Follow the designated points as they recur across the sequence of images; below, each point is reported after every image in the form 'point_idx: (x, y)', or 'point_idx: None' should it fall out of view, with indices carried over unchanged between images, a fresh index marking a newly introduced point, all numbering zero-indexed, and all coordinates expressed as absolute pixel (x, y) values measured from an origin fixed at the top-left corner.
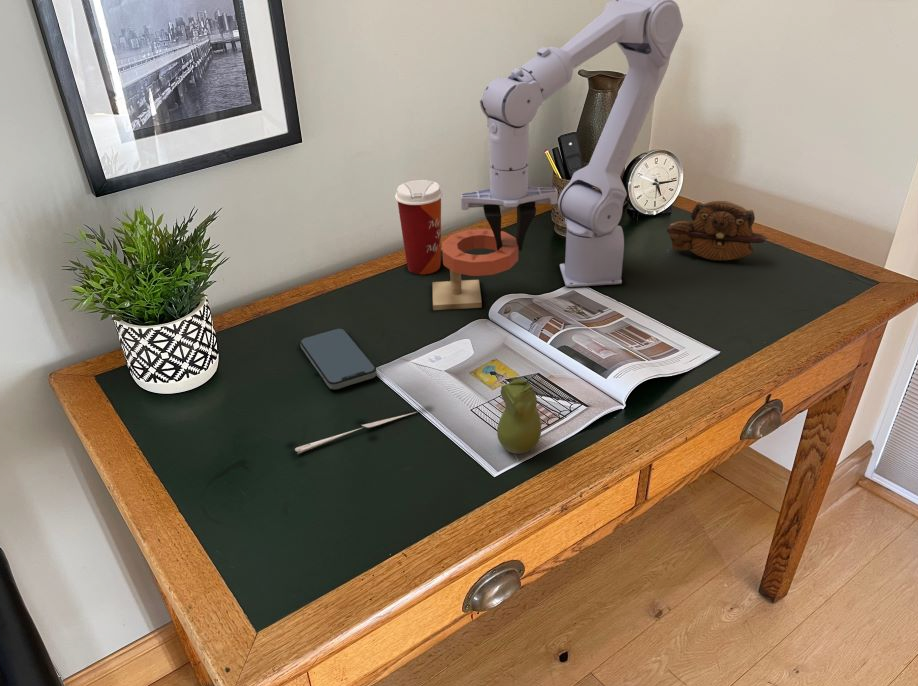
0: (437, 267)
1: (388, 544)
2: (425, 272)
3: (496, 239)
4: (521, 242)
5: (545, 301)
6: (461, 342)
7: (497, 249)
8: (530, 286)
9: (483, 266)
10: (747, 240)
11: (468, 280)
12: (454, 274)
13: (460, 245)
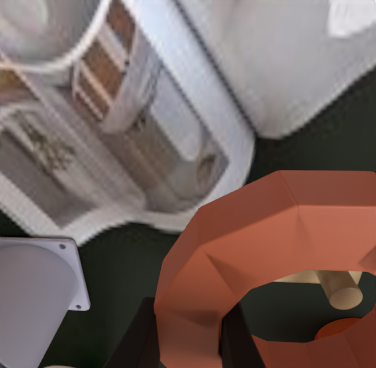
0: (326, 331)
1: None
2: (353, 320)
3: (255, 352)
4: (136, 325)
5: (117, 195)
6: (356, 16)
7: (241, 308)
8: (148, 253)
9: (337, 191)
10: None
11: (277, 280)
12: (343, 271)
13: (374, 355)
